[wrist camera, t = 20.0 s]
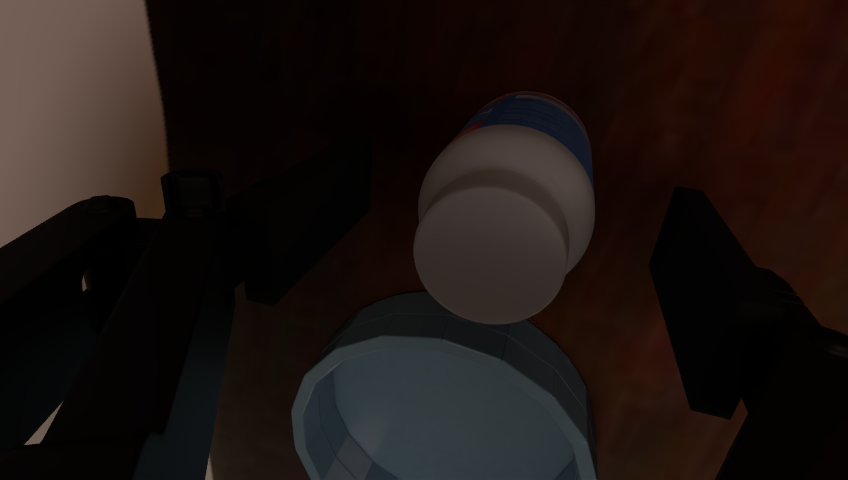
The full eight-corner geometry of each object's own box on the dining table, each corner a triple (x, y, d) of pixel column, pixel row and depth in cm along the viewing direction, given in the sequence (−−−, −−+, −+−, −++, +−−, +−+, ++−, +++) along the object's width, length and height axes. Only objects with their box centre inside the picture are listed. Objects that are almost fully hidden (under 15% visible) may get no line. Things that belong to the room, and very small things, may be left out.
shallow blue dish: (278, 382, 31) (241, 429, 27) (446, 232, 24) (423, 272, 20) (452, 535, 33) (438, 599, 29) (659, 441, 25) (673, 511, 22)
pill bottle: (488, 69, 20) (424, 116, 11) (614, 118, 19) (647, 206, 11) (444, 187, 23) (365, 296, 14) (554, 233, 22) (542, 375, 14)
